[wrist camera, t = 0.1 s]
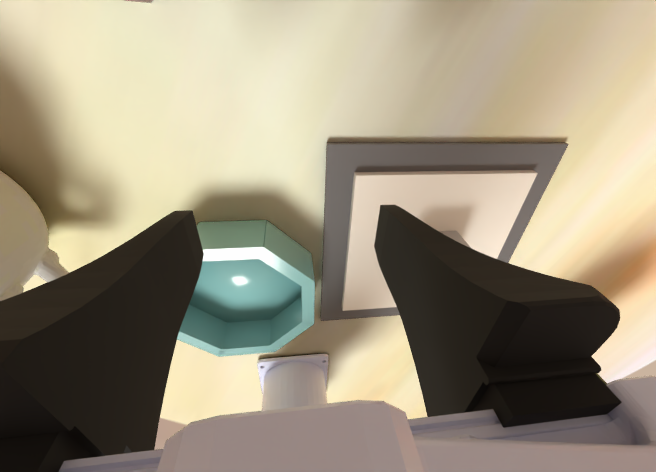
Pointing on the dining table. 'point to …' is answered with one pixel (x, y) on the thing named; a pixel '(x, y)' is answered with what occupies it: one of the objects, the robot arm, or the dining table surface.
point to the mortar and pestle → (147, 0)
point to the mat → (414, 159)
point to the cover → (428, 218)
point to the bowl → (249, 290)
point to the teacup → (23, 241)
